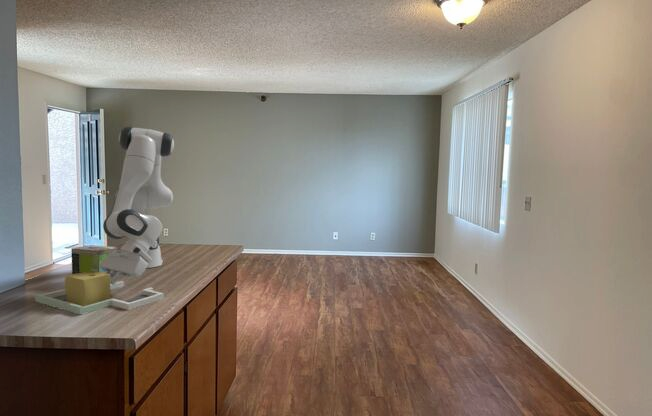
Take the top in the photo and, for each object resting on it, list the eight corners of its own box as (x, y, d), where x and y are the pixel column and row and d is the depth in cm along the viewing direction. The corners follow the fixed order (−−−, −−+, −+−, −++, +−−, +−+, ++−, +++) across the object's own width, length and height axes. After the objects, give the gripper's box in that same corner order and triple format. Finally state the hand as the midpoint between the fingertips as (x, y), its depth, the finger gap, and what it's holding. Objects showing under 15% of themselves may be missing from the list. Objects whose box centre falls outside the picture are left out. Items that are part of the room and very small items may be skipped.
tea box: (119, 281, 170) (118, 246, 169) (99, 287, 161) (98, 250, 159) (92, 277, 175) (91, 243, 174) (71, 283, 166) (70, 247, 164)
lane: (35, 301, 142) (35, 294, 142) (109, 283, 167) (109, 277, 167) (97, 320, 126) (97, 312, 126) (169, 296, 151) (169, 290, 150)
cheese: (93, 295, 150) (93, 269, 149) (112, 300, 145) (111, 273, 144) (64, 303, 141) (63, 275, 140) (83, 308, 136) (82, 279, 135)
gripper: (110, 244, 159) (86, 274, 152) (145, 250, 150) (121, 282, 142) (120, 254, 164) (98, 283, 156) (155, 260, 154) (133, 291, 146)
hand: (109, 283), depth 149 cm, fingers closed
